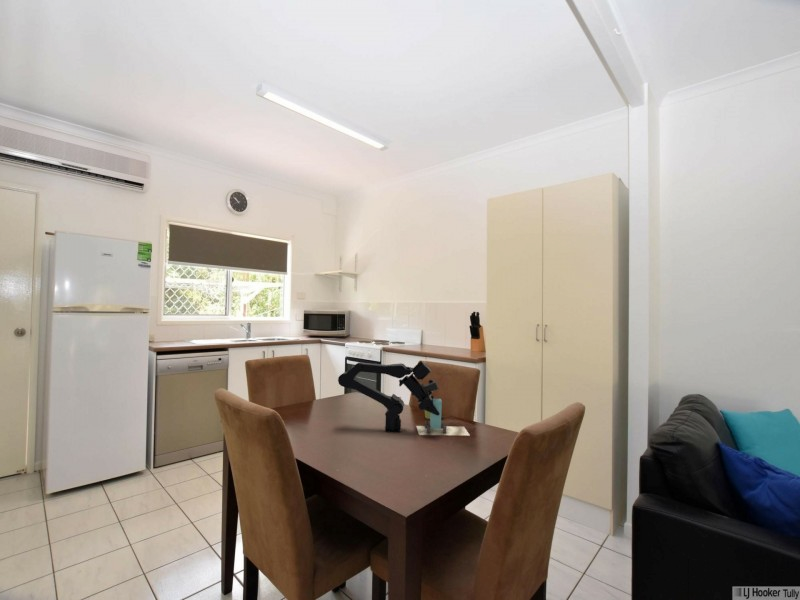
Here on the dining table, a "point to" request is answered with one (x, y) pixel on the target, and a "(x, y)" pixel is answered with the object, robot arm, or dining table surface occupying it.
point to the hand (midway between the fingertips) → (438, 413)
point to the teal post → (434, 419)
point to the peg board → (441, 430)
